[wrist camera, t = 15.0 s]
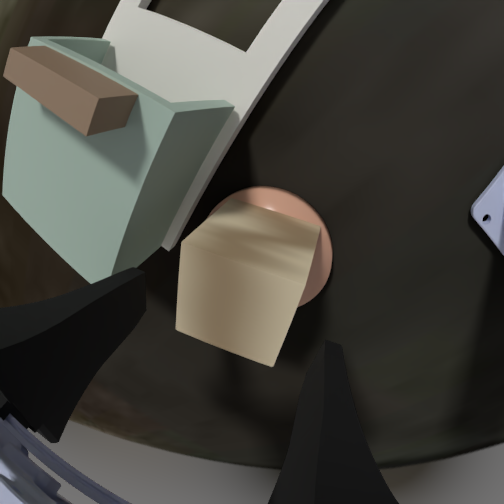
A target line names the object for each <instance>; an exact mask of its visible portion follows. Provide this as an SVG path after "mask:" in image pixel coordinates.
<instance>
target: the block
mask: <svg viewBox="0 0 504 504" xmlns="http://www.w3.org/2000/svg"><path fill="white" fill-rule="evenodd" d="M320 228H321V226H319V225H316V224H313V223H310V222H307V221H304V220H301V219H297V218H294V217H291V216H288V215H285V214H282V213H279V212H276V211H272V210H269V209H266V208H263V207H260V206H256V205H253V204H250V203H247V202H243V201H240V200H237V199H233V198H231V199H229V200H228V201H227V202H226V203H225V204H224V205H223V206H221V207H220V208H219V209H218V210H217V211H216V212H215V213H213V214H212V215H211V216H210V217H209V218H208V219H207V220H205V221H204V222H203V223H202V224H201V225H200V226H199V227H198V228H196V229H195V230H194V231H193V232H192V233H191V234H190V235H189V236H187V237H186V238H185V239H184V240H183V241H182V242H181V254H180V266H179V280H178V295H177V313H176V330H178V331H181V332H183V333H185V334H188V335H190V336H192V337H195V338H197V339H199V340H202V341H204V342H207V343H209V344H212V345H214V346H217V347H219V348H222V349H224V350H227V351H230V352H232V353H235V354H238V355H240V356H243V357H246V358H248V359H251V360H254V361H257V362H259V363H262V364H265V365H268V366H271V367H273V366H274V363H275V361H276V358H277V356H278V354H279V351H280V349H281V346H282V344H283V342H284V339H285V337H286V334H287V332H288V329H289V327H290V324H291V322H292V319H293V317H294V314H295V311H296V309H297V306H298V304H299V301H300V299H301V296H302V293H303V291H304V288H305V285H306V282H307V278H308V275H309V271H310V267H311V263H312V259H313V256H314V252H315V248H316V244H317V240H318V236H319V232H320Z"/></svg>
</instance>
